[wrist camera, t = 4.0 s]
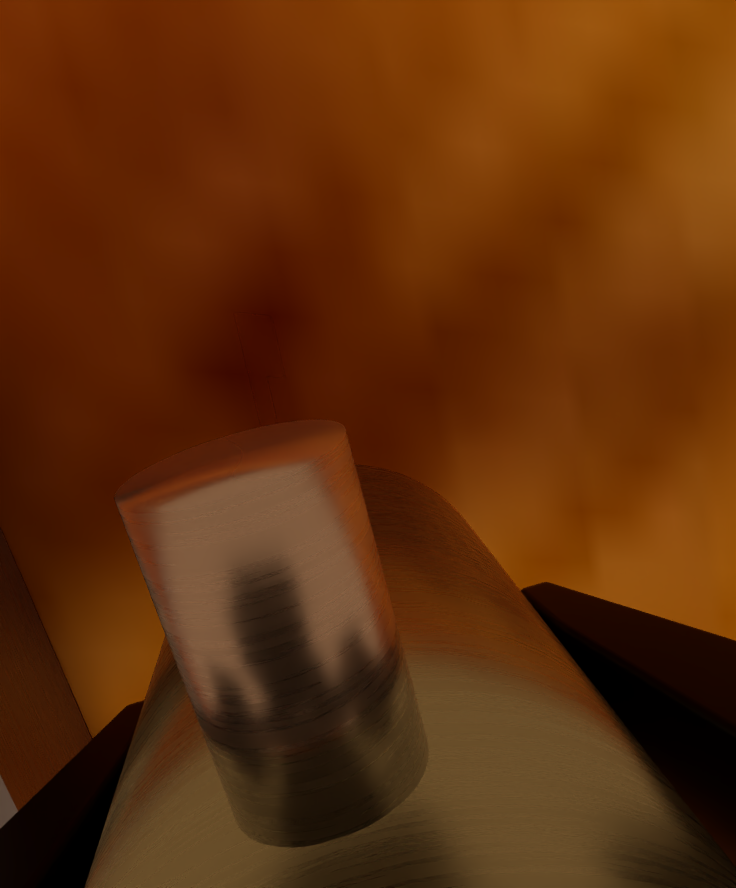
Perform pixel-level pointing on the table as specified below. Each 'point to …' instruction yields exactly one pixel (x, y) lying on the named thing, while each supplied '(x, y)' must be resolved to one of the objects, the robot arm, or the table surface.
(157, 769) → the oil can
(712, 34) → the table surface
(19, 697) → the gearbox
